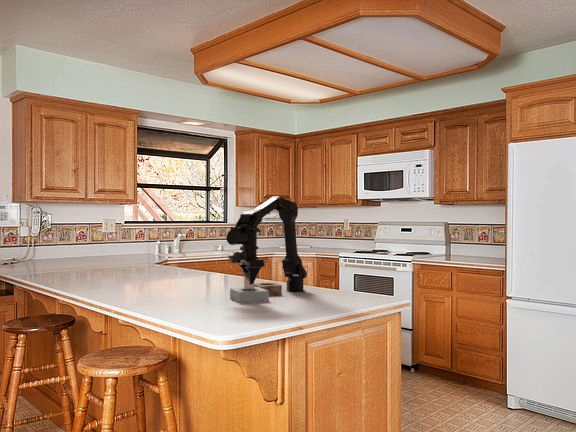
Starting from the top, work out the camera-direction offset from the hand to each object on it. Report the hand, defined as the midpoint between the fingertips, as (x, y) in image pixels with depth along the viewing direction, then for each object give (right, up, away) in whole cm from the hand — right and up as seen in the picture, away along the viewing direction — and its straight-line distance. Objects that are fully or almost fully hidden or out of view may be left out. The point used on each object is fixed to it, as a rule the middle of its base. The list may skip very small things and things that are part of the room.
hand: (249, 283), depth 206 cm
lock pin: (0, -7, 0) cm, 7 cm away
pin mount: (+6, -7, +16) cm, 18 cm away
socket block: (0, -7, 0) cm, 6 cm away
